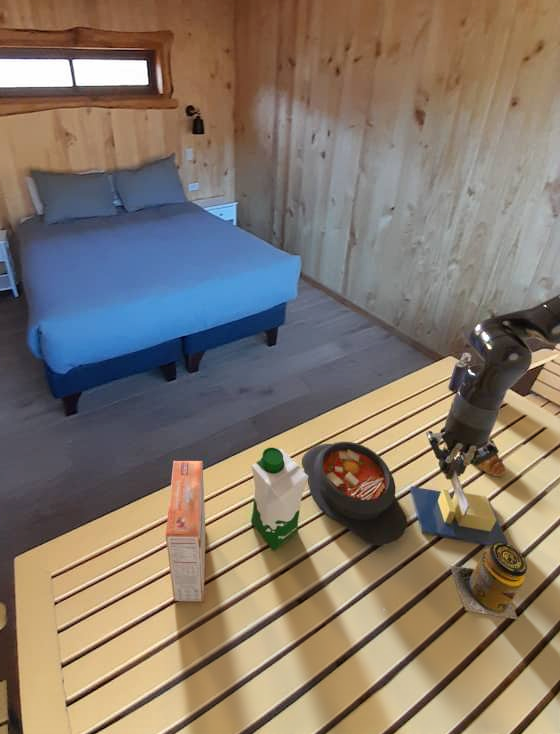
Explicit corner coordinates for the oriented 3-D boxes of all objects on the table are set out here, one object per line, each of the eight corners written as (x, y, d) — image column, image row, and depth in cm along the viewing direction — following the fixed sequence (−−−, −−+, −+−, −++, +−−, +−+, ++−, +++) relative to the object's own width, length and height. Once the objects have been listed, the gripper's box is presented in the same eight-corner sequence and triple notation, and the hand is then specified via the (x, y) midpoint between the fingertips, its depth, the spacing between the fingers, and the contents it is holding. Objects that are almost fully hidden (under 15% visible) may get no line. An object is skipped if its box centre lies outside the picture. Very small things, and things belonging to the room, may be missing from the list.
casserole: (426, 525, 85) (435, 500, 81) (360, 568, 77) (368, 543, 74) (341, 438, 105) (345, 415, 101) (282, 466, 98) (285, 442, 94)
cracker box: (178, 525, 86) (172, 458, 76) (206, 525, 85) (204, 459, 76) (171, 602, 73) (163, 534, 64) (204, 604, 73) (201, 536, 63)
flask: (456, 373, 126) (466, 346, 121) (466, 378, 124) (477, 350, 119) (446, 388, 120) (455, 360, 115) (456, 393, 118) (467, 365, 113)
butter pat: (443, 501, 88) (448, 490, 86) (451, 524, 84) (456, 512, 82) (437, 500, 88) (442, 488, 86) (444, 523, 84) (449, 511, 82)
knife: (438, 459, 91) (442, 450, 90) (448, 460, 91) (451, 451, 89) (459, 514, 80) (463, 505, 78) (470, 516, 79) (474, 507, 78)
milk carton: (274, 499, 90) (281, 437, 81) (304, 533, 83) (315, 469, 74) (244, 521, 86) (247, 458, 77) (273, 559, 79) (280, 495, 70)
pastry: (510, 472, 95) (516, 461, 93) (490, 482, 93) (495, 471, 91) (474, 442, 103) (478, 431, 101) (454, 450, 101) (458, 439, 99)
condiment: (517, 619, 70) (543, 582, 64) (465, 611, 71) (485, 573, 66) (497, 573, 76) (518, 536, 71) (449, 566, 78) (466, 529, 72)
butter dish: (487, 502, 89) (494, 487, 86) (508, 549, 80) (516, 534, 78) (409, 489, 92) (414, 474, 90) (421, 533, 83) (427, 518, 81)
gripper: (440, 422, 78) (420, 481, 86) (521, 433, 75) (492, 493, 83) (429, 395, 84) (411, 451, 92) (503, 404, 82) (478, 462, 89)
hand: (450, 471), depth 87 cm, fingers closed on knife, 2 cm apart
